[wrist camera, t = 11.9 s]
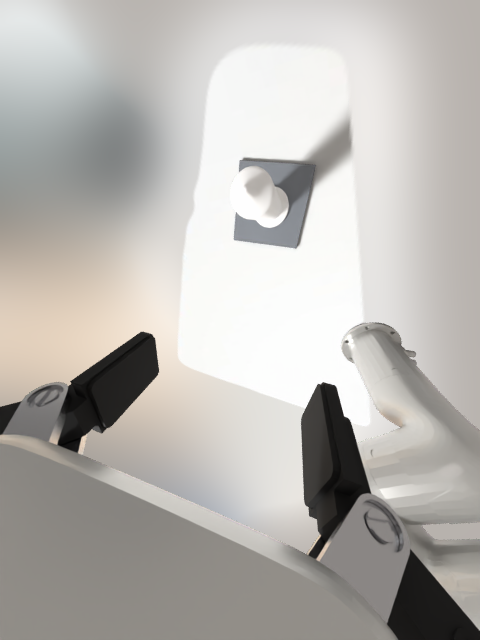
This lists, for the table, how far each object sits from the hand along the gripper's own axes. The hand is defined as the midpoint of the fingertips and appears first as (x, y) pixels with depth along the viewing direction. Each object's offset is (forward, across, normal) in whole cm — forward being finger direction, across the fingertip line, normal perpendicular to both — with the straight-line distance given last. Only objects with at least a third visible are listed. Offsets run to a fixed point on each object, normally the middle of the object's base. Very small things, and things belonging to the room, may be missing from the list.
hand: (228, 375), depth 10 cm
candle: (+36, +4, -10) cm, 38 cm away
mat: (+37, +4, -10) cm, 39 cm away
